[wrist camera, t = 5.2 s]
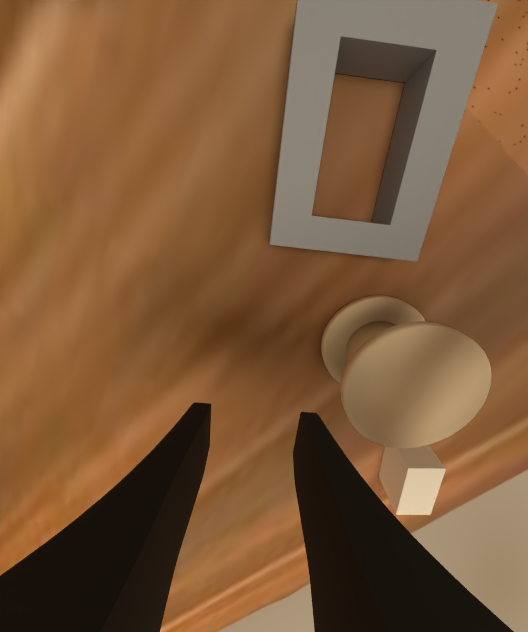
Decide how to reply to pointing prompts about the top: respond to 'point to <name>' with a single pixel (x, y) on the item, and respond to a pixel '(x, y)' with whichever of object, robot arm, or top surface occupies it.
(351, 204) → the top surface
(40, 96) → the top surface
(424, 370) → the bobbin
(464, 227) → the top surface
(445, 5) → the board with rectangular hole
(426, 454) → the rectangular block
